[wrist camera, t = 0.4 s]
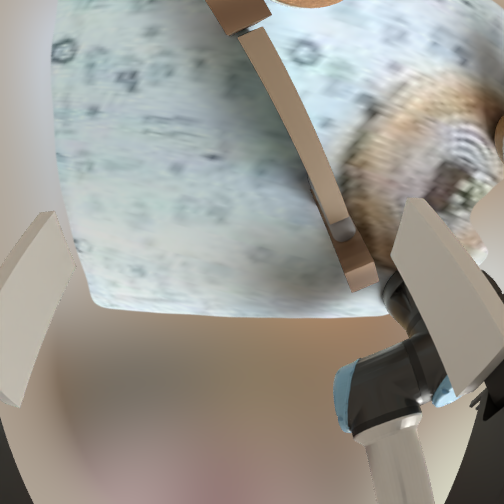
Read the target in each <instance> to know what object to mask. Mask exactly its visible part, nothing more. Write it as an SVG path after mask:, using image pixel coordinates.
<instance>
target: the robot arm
mask: <svg viewBox="0 0 504 504" xmlns="http://www.w3.org/2000/svg"><path fill="white" fill-rule="evenodd" d="M390 256H391V258H392V260H393V262H394V263H395V265H396V267H397V269H398V271H397V272H396V273H395V274H394V275H393V276H392V277H391V278H390V280H389V281H388V283H387V284H386V286H385V289H384V292H383V301H384V304H385V306H386V309H387V311H388V312H389V314H390V315H391V316H392V317H393V318H394V319H395V320H396V321H397V322H398V323H399V324H400V325H401V326H402V327H403V328H404V329H405V330H406V332H407V334H408V337H409V339H407V340H404V341H403V342H400V343H398V344H396V345H393V346H391V347H389V348H386V349H384V350H382V351H379V352H377V353H374V354H372V355H369V356H367V357H364V358H359V359H357V360H356V361H355V362H353V363H351V364H348V365H346V366H344V367H342V368H340V369H339V370H338V372H337V373H336V376H335V379H334V386H333V390H334V392H333V394H334V404H335V411H336V414H337V416H338V422H339V425H340V427H341V429H342V430H343V431H344V432H348V433H352V435H353V439H354V441H356V442H358V443H360V444H362V445H363V446H364V447H365V449H366V453H367V457H368V462H369V467H370V472H371V476H372V481H373V486H374V490H375V496H376V501H377V504H435V502H434V497H433V493H432V488H431V483H430V479H429V475H428V470H427V466H426V462H425V458H424V454H423V451H422V446H421V443H420V439H419V435H418V432H417V426H418V424H419V422H420V420H421V418H422V416H423V415H422V411H421V408H420V406H421V405H423V404H425V403H427V402H429V401H432V404H434V405H435V406H436V407H442V406H444V405H446V404H449V403H451V402H453V401H455V400H457V399H458V398H460V397H461V396H463V395H464V394H468V393H470V392H473V391H474V390H476V389H477V388H478V387H479V386H480V385H481V384H482V383H483V382H485V384H486V387H487V388H486V389H485V390H484V391H483V392H481V393H480V394H479V395H478V396H477V397H476V398H475V399H474V400H473V401H472V402H471V404H470V407H471V408H472V407H473V406H474V405H475V404H476V403H478V402H479V401H480V404H479V405H478V406H477V407H476V410H478V412H477V416H476V419H475V423H474V426H473V430H472V433H471V436H470V440H469V442H468V445H467V448H466V452H465V454H464V457H463V460H462V463H461V465H460V468H459V471H458V473H457V476H456V478H455V481H454V483H453V486H452V488H451V490H450V492H449V495H448V497H447V499H446V501H445V503H444V504H504V294H502V291H501V289H500V288H499V287H498V285H497V284H496V282H495V281H494V280H493V279H492V278H491V277H490V276H489V275H488V274H487V273H486V272H485V271H483V270H481V269H480V268H479V267H478V265H477V264H476V262H475V261H474V260H473V258H472V257H471V256H470V254H469V253H468V252H467V250H466V249H465V248H464V246H463V245H462V244H461V243H460V241H459V240H458V239H457V237H456V236H455V235H454V234H453V232H452V231H451V230H450V229H449V228H448V226H447V225H446V224H445V223H444V222H443V220H442V219H441V218H440V217H439V216H438V214H437V213H436V212H435V211H434V210H433V209H432V207H431V206H430V205H429V204H428V203H427V202H426V201H425V200H424V198H407V200H406V204H405V207H404V211H403V215H402V218H401V222H400V225H399V229H398V232H397V235H396V239H395V242H394V245H393V248H392V251H391V254H390ZM75 268H76V264H75V262H74V259H73V257H72V255H71V253H70V250H69V247H68V245H67V242H66V240H65V237H64V235H63V232H62V229H61V227H60V224H59V221H58V218H57V216H56V213H55V211H50V212H41V213H40V214H39V215H38V216H37V217H36V218H35V220H34V221H33V222H32V224H31V225H30V226H29V227H28V229H27V230H26V231H25V233H24V234H23V235H22V237H21V238H20V239H19V241H18V242H17V243H16V245H15V246H14V248H13V249H12V250H11V252H10V253H9V255H8V256H7V258H6V259H5V260H4V262H3V263H2V265H1V266H0V400H1V401H2V402H4V403H5V404H8V405H12V406H15V407H18V408H20V407H21V403H22V399H23V396H24V393H25V390H26V387H27V384H28V381H29V377H30V375H31V372H32V369H33V366H34V363H35V361H36V358H37V355H38V352H39V350H40V347H41V345H42V342H43V339H44V337H45V334H46V332H47V329H48V327H49V325H50V322H51V320H52V318H53V315H54V313H55V311H56V308H57V306H58V304H59V301H60V300H61V297H62V295H63V293H64V291H65V289H66V287H67V284H68V283H69V280H70V278H71V276H72V274H73V272H74V270H75ZM0 504H34V503H33V501H32V499H31V498H30V495H29V493H28V491H27V489H26V487H25V484H24V482H23V480H22V477H21V475H20V473H19V470H18V468H17V465H16V463H15V460H14V458H13V455H12V452H11V449H10V447H9V444H8V441H7V438H6V435H5V432H4V429H3V425H2V422H1V419H0Z"/></svg>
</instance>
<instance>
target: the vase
mask: <svg viewBox="0 0 504 504" xmlns="http://www.w3.org/2000/svg"><path fill="white" fill-rule="evenodd" d="M495 147H496V150H497V153H498V155H499V157H500V159H501V161H502V162H503V163H504V115H503V116H502V117H501V118H500V120H499V122H498V124H497V127H496V130H495Z"/></svg>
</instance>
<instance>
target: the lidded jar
mask: <svg viewBox="0 0 504 504" xmlns="http://www.w3.org/2000/svg"><path fill="white" fill-rule="evenodd" d="M271 1H273V2H275V3H278V4H281V5H284V6H288V7H294V8H320V7H325V6H330V5H333V4H336V3H338V2H340V1H342V0H271Z"/></svg>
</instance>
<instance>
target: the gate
mask: <svg viewBox="0 0 504 504" xmlns="http://www.w3.org/2000/svg"><path fill="white" fill-rule="evenodd" d="M238 40H239V42H240V43H241V45H242V47H243V49H244V50H245V52H246V54H247V56H248V57H249V59H250V61H251V63H252V64H253V66H254V68H255V70H256V72H257V73H258V75H259V77H260V79H261V81H262V83H263V85H264V86H265V88H266V90H267V92H268V94H269V96H270V98H271V100H272V101H273V103H274V105H275V107H276V109H277V111H278V113H279V115H280V117H281V119H282V121H283V123H284V125H285V127H286V129H287V131H288V133H289V135H290V137H291V139H292V141H293V143H294V145H295V147H296V150H297V152H298V154H299V156H300V158H301V160H302V162H303V164H304V167H305V169H306V171H307V173H308V181H309V183H310V185H311V187H312V190H313V192H314V194H315V196H316V199H317V201H318V203H319V205H320V208H321V210H322V212H323V214H324V217H325V219H326V221H327V224H328V226H329V228H330V231H331V233H332V236H333V238H334V239H335V240H336V241H339V242H345V241H348V240H350V239H351V238H352V237H353V236H354V234H355V232H356V228H355V226H354V224H353V222H352V220H351V218H350V216H349V214H348V211H347V209H346V206H345V203H344V201H343V198H342V195H341V193H340V190H339V187H338V185H337V182H336V180H335V177H334V175H333V172H332V170H331V167H330V165H329V162H328V160H327V157H326V155H325V153H324V150H323V148H322V145H321V143H320V141H319V138H318V136H317V134H316V132H315V129H314V127H313V125H312V123H311V120H310V118H309V116H308V114H307V112H306V109H305V107H304V105H303V103H302V101H301V99H300V97H299V95H298V93H297V90H296V88H295V86H294V84H293V82H292V80H291V78H290V76H289V74H288V72H287V70H286V68H285V66H284V65H283V63H282V61H281V59H280V57H279V55H278V53H277V51H276V49H275V47H274V46H273V44H272V42H271V40H270V38H269V37H268V35H267V33H266V31H265V29H264V28H263V27H260V28H258V29H255V30H252V31H250V32H248V33H245V34H243V35H241V36H239V37H238Z"/></svg>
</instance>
